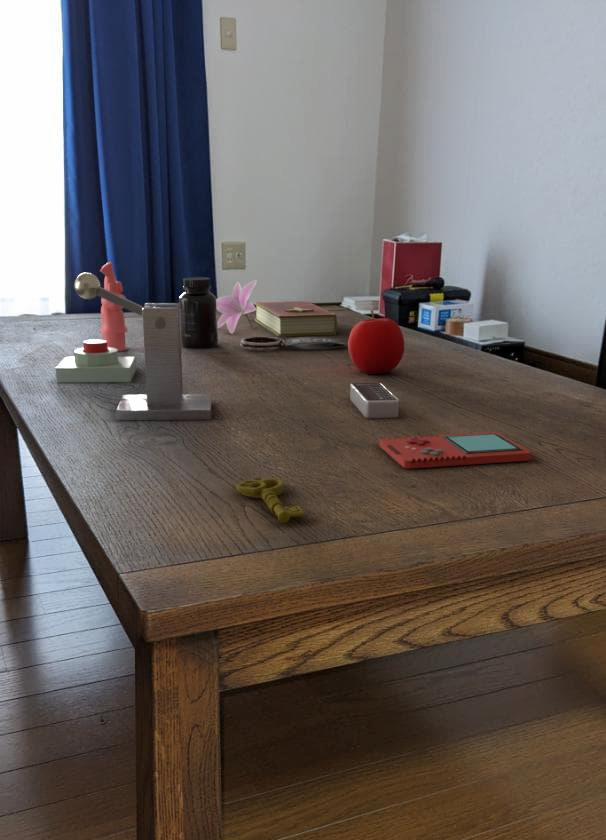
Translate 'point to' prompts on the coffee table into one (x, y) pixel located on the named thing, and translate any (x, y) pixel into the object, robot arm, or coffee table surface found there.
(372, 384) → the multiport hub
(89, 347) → the button
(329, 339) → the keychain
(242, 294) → the lily
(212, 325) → the supplement bottle
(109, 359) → the box
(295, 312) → the book
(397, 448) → the handheld gaming console
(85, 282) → the lock lever
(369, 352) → the fruit
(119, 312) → the figurine
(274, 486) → the key
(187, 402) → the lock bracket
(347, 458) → the coffee table surface
